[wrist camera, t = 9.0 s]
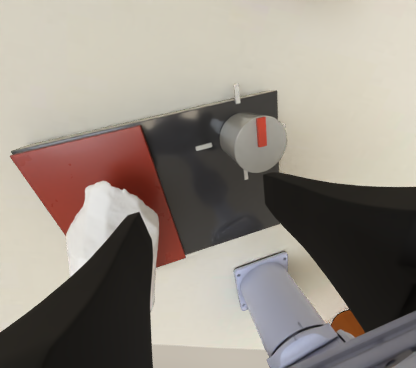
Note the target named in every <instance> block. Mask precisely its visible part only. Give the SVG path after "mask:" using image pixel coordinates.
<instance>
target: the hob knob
mask: <svg viewBox="0 0 416 368" xmlns="http://www.w3.org/2000/svg"><path fill="white" fill-rule="evenodd" d="M286 144H287V135H286V131H285V128H284V126H283V125H282V124H281V122H280V121H279V120H277V119H276V118H274V117H271V116H265V115H259V114H253V113H247V112H241V113H237V114H235V115H233V116H231V117H230V118H229V119H228V120H227V121H226V122H225V123H224V125H223V127H222V129H221V132H220V145H221V148H222V150H223V152H224V153H225V154H226V155H227V156H228V157H229V158H230V159H232V160H233V161H234V162H235V163H236V164H238V165H239V166H240V167H241V168H242V169H244V170H246V171H248V172H251V173H260V172H264V171H267V170H269V169H270V168H272V167H273V166H274V165H276V164H277V163H278V161H279V160H280V159H281V157H282V156H283V154H284V151H285V148H286Z"/></svg>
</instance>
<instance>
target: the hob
mask: <svg viewBox="0 0 416 368" xmlns="http://www.w3.org/2000/svg"><path fill="white" fill-rule="evenodd" d="M234 93H235V98H233V99H228V100H224V101H219V102H215V103H211V104H206V105H202V106H197V107H193V108H189V109H184V110H180V111H175V112H171V113H167V114H162V115H158V116H153V117H149V118H145V119H140V120H136V121H131V122H127V123H123V124H118V125H114V126H109V127H105V128H101V129H96V130H92V131H87V132H83V133H79V134H74V135H70V136H65V137H61V138H57V139H52V140H48V141H43V142H39V143H35V144H30V145H27V146H24V147H21V148H19V149H16V150H13V151H11V153H12V154H16V153H20V152H24V151H29V150H33V149H37V148H42V147H46V146H50V145H55V144H59V143H63V142H68V141H72V140H76V139H81V138H85V137H89V136H94V135H98V134H102V133H107V132H111V131H115V130H120V129H124V128H128V127H133V126H137V125H141V127H142V130H143V133H144V136H145V139H146V142H147V145H148V147H149V150H150V153H151V156H152V159H153V162H154V165H155V168H156V171H157V174H158V177H159V179H160V182H161V185H162V188H163V191H164V194H165V197H166V200H167V203H168V206H169V209H170V211H171V214H172V217H173V220H174V223H175V226H176V229H177V232H178V235H179V238H180V241H181V243H182V246H183V249H184V252H185V255H187V254H190V253H193V252H196V251H199V250H202V249H205V248H208V247H211V246H214V245H217V244H220V243H223V242H226V241H229V240H232V239H235V238H238V237H241V236H244V235H247V234H250V233H253V232H256V231H259V230H262V229H266V228H269V227H272V226H275V225H278V224H280V222H279V221H278V220H277V219H276V218H275V217H274V216H273V214H272V213H271V212H270V210H269V209H268V208H267V206H266V205H265V197H264V183H263V175H264V174H267V173H271V172H278V173H279V161H278V163H277V164H276V165H274V166H273V167H272V168H270V169H269V170H267V171H264V172H260V173H251V172H248V171H246V170H244V169H242V168H241V167H240V166H239V165H238V164H236V163H235V162H234V161H233V160H232V159H230V158H229V157H228V156H227V155H226V154H225V153H224V152H223V150H222V148H221V145H220V132H221V129H222V127H223V125H224V123H225V122H226V121H227V120H228V119H229V118H230V117H231V116H233V115H235V114H237V113H241V112H247V113H253V114H259V115H265V116H271V117H274V118H276V119H277V120H278V110H277V91H263V92H259V93H255V94H250V95H246V96H241V97H240V93H239V84H234ZM282 125H283V126H284V128H285V124H282Z"/></svg>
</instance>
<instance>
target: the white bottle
mask: <svg viewBox="0 0 416 368" xmlns="http://www.w3.org/2000/svg"><path fill="white" fill-rule="evenodd" d="M137 212H140V214H141V217H142V219H143V221H144V223H145V225H146V228H147V230H148V232H149V234H150V237H151V239H152V246H153V268H152V282H151V296H150V312H151V310H152V308H153V305H154V300H155V298H154V297H155V296H154V295H155V274H156V260H157V251H158V240H159V218H158V215H157V213H155V212H154V210H152V209H151V208H149V206H146V205H145V204H144V202H143V201H142V200H140V199H139V198H138V197H137V196H136V195H133V194H130V193H129V192H127V190H126V189H123V190H120V189H119V188H116V187H113V186H111V184H110V183H108V182H107V181H100V182H97V183H95V184H94V185H89V186H88V187H86V188H85V201H84V204H83V207H82V208H81V209H80V211H79V212H78V213H77V214H76V216H75V218H74V220H73V222H72V223H71V225H70V227H69V229H68V231H67V233H66V246H67V254H68V260H69V268H70V277H71V276H72V275H73V274H74V273H75V272H77V271H78V270H79V269H80V268H81V267H82V266H83V265H84V264H85V263H86V262H87V261H88V260H89V259H90V258H91V257H92V256H93V255H94V253H95V252H96V251H97V250H98V249H99V248H100V247H101V246H102V245H103V244H104V242H105V241H106V240H107V239H108V238H109V237H110V235H111V234H112V233H113V232H114V231H115V229H116V228H117V227H118V226H119V225H120V223H121V222H122V221H123V220H124V219H125V218H126V216H127V215H130V214H133V213H137Z"/></svg>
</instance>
